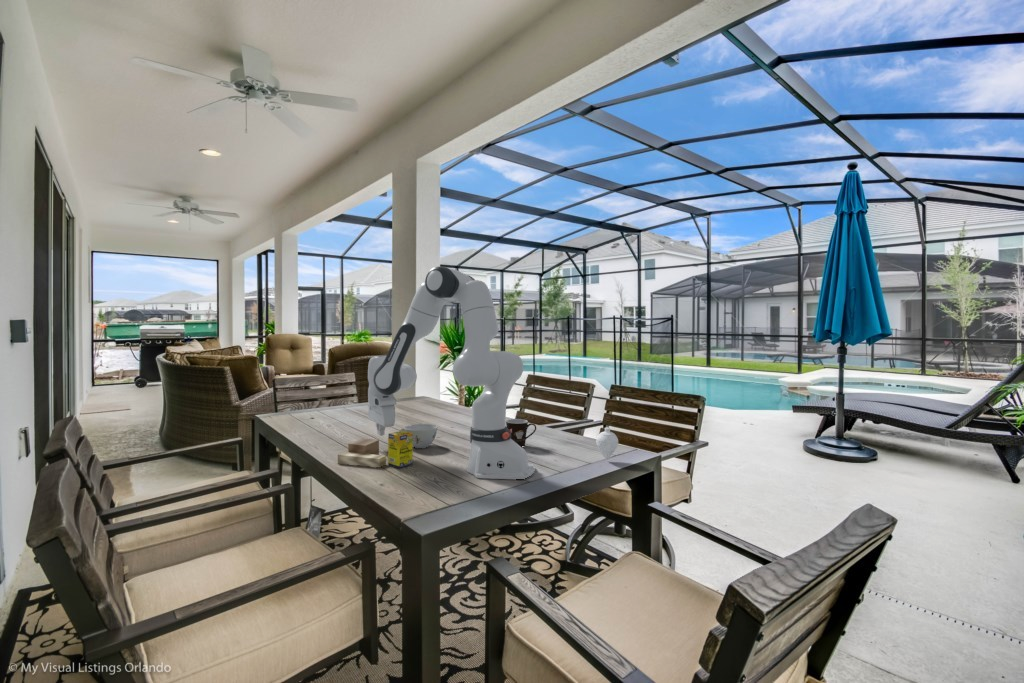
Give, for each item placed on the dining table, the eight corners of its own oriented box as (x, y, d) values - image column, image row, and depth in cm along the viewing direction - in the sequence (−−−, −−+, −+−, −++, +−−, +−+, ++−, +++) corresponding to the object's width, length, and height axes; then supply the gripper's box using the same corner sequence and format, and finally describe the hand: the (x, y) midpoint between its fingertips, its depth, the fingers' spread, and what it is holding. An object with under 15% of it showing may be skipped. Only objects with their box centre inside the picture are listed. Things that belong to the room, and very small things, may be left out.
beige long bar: (385, 464, 159) (385, 455, 158) (379, 467, 155) (379, 458, 155) (344, 460, 163) (344, 451, 163) (337, 463, 159) (337, 454, 159)
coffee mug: (503, 448, 180) (504, 422, 179) (507, 443, 188) (508, 418, 188) (533, 450, 178) (534, 424, 178) (536, 444, 186) (536, 419, 186)
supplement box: (399, 468, 154) (399, 436, 154) (387, 465, 158) (387, 433, 157) (413, 464, 159) (413, 432, 158) (401, 461, 162) (401, 430, 162)
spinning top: (607, 466, 159) (608, 431, 159) (591, 460, 165) (591, 427, 165) (622, 462, 164) (623, 428, 163) (606, 457, 170) (606, 424, 169)
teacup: (442, 443, 187) (442, 423, 186) (431, 452, 174) (431, 430, 174) (406, 441, 189) (406, 421, 189) (393, 449, 177) (393, 428, 177)
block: (378, 456, 168) (378, 440, 168) (365, 462, 161) (365, 445, 160) (362, 454, 170) (362, 438, 170) (348, 460, 163) (348, 443, 163)
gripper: (363, 395, 181) (364, 431, 182) (380, 402, 165) (381, 441, 165) (379, 394, 185) (380, 429, 185) (398, 400, 168) (398, 438, 168)
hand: (380, 434), depth 175 cm, fingers closed
